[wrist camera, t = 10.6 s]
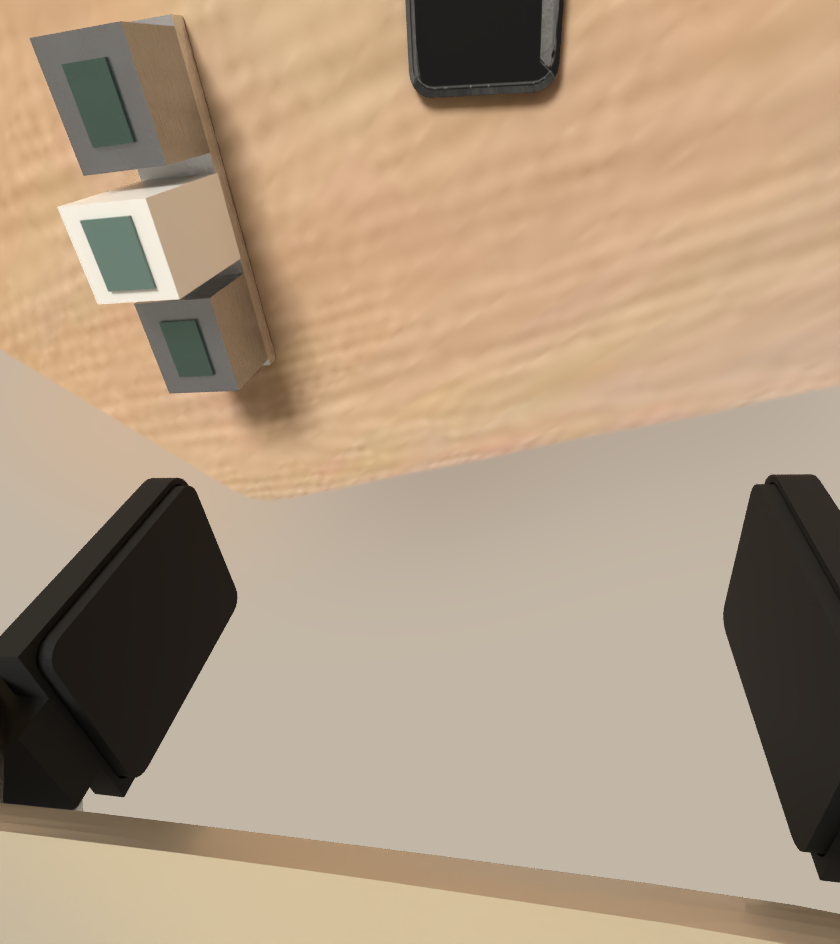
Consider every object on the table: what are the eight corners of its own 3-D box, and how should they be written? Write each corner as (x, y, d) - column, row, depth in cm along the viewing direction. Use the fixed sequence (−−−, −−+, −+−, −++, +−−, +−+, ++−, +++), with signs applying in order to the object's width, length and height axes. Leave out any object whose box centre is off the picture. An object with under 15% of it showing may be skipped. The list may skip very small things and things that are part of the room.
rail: (182, 15, 32) (113, 7, 27) (276, 358, 43) (240, 399, 38) (102, 30, 33) (21, 25, 28) (213, 361, 44) (170, 401, 39)
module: (217, 172, 35) (143, 199, 29) (240, 258, 38) (177, 300, 32) (143, 180, 36) (54, 207, 30) (170, 263, 39) (95, 305, 32)
